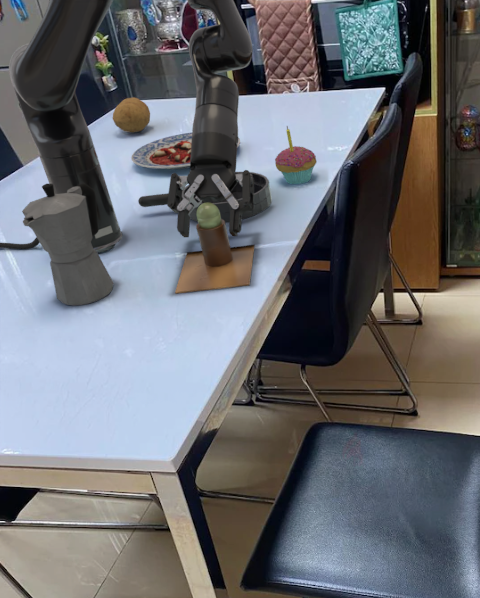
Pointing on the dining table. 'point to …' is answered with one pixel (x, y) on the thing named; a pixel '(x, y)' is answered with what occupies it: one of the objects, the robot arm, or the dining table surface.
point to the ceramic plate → (166, 153)
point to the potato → (131, 115)
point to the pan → (260, 198)
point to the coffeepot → (70, 243)
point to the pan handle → (153, 200)
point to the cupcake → (295, 163)
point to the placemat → (216, 271)
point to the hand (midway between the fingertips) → (208, 235)
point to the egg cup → (213, 236)
